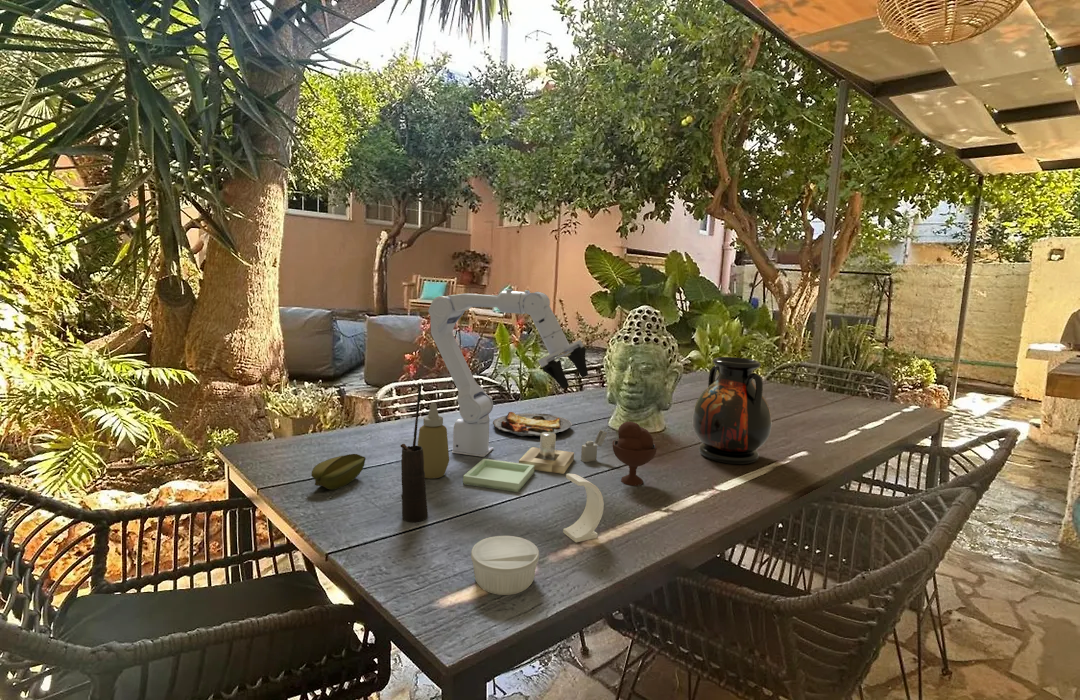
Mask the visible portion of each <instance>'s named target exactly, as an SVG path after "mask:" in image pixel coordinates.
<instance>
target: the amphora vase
mask: <svg viewBox="0 0 1080 700" xmlns="http://www.w3.org/2000/svg"><path fill="white" fill-rule="evenodd" d="M712 363H713V364H714V366H712V367H711V369H710V371H709V375H708V383H707V384H708V386H707V387H706V389H704V391H702V392H701V394H700V395H699V396H698V398H697V399H696V402H695V405H694V408H693V411H692V415H691V416H692V417H691V419H692V421H691V423H692V424H691V425H692V428H693V432H694V433H695V436H696V437H697V438H698V440H699V441H700V442H701V443H700V445H699V446H698V451H699V453H700V454H701V455H702V456H703V457H705V458H707V459H709V460H712V461H715V462H719V463H721V464H722V463H723V464H728V465H729V464H730V465H748V464H752V463H754V462H756V461H757V460H759V458H760V457H759V456H760V454H759V452H758V449H760V448H761V447H762V446H764V445H765V443H767V441H768V439H769V438H770V435H771V432H772V425H773V422H772V412H771V409H770V406H769V403H768V401H767V399H766V398H765V396H764V395H763V393H764V392H763V391H764V382H763V379H762V377H761V375H759V374H758V373H755V372H754V370H755V369H759V368H760V367H761V365H762V364H761V362H759V361H758V360H754V359H752V358H751V359H750V358H745V357H743V358H742V357H736V356H735V357H734V356H719V357H715V358H713V359H712ZM717 372H718V377H717V378H716V375H717ZM753 372H754V373H753ZM754 382H755V383H754Z"/></svg>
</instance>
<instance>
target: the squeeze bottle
mask: <svg viewBox="0 0 1080 700" xmlns="http://www.w3.org/2000/svg"><path fill="white" fill-rule="evenodd" d="M428 410H429V411H428V415H427V416H424V417H423V425H422V426H420V427H419V430H418V438H417V446H421V447H422V448H423V455H424V457H423V458H424V472H425V479H439V478H441V477H444V476H445V475H446V472H447V468H448V465H449V463H450V452H449V441H448V429H447V427H446V426H445V425H444V417H443V416H440V415H439V411H438V406H437V403H436V402H431V403H430V407H429V409H428Z"/></svg>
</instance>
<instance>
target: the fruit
mask: <svg viewBox="0 0 1080 700" xmlns="http://www.w3.org/2000/svg"><path fill="white" fill-rule="evenodd" d="M365 464H366V457H365V456H363V455H361V454H358V453H352V454H351V453H350V454H346V455H339V456H335V457H332V458H328V459H326V460H323V461H321V462H319V463H316V465H314V467H313V469H312V470H311V477H312V478H313V479H314V481H315V482H314V486H319V487H321V486H322V487H323V488H325V489H328V490H329V491H330V490H331V491H335V490H338V489H341V488H343V487H344V486H347V485H348V484H350V483H351V482H353V481H354V480H355V479H356V478H358V476H359V475H360V474H361V473H362V471H363V469H364V466H365Z"/></svg>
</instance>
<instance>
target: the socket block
mask: <svg viewBox="0 0 1080 700" xmlns="http://www.w3.org/2000/svg"><path fill="white" fill-rule="evenodd" d="M574 460H575V452H574V451H573V452H572V451H566V450H558V449H555V461H553V460H545V459H540V447H532V446H531V447H530V448H529V449H528V450H527V451H526V452H525V453H524V454H523V456H521V458H520V459H519V460H518V463H521V464H529V465H534V471H540V472H547V473H555V474H556V473H557V474H561V475H562V474H563V475H565V473H566V471H568V469H569V468H570V466H571V464H572V463H573V461H574Z"/></svg>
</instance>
